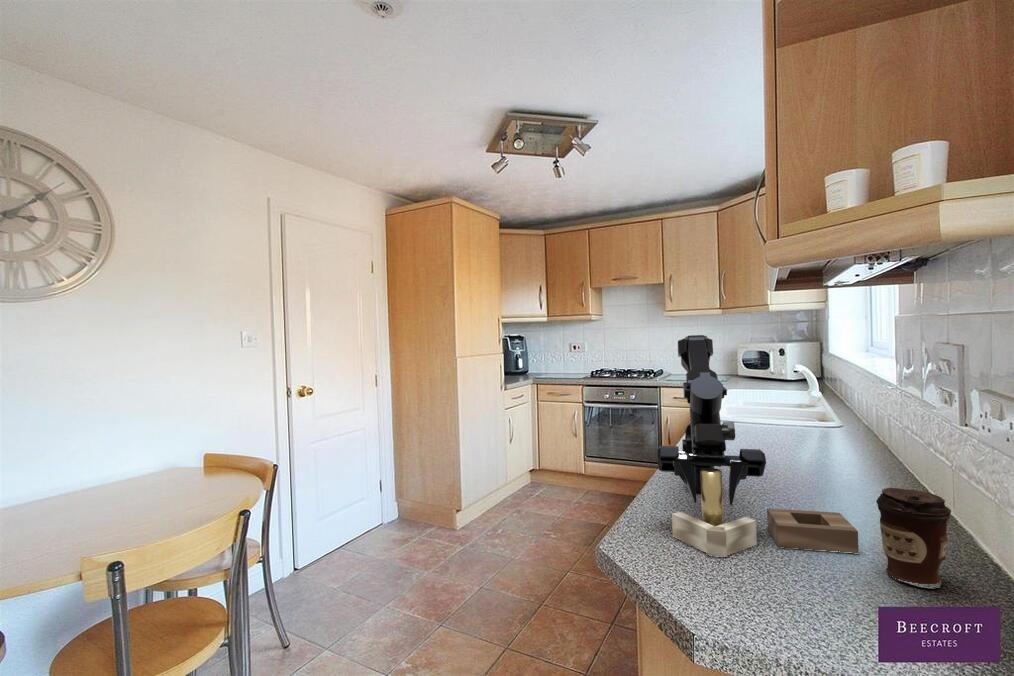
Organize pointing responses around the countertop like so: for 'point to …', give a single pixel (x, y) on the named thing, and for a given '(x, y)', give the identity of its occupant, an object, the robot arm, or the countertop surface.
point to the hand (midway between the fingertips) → (713, 503)
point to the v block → (715, 534)
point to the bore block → (812, 530)
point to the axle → (711, 496)
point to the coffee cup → (913, 534)
